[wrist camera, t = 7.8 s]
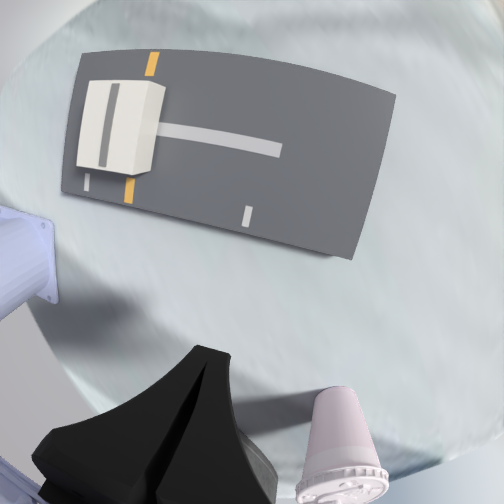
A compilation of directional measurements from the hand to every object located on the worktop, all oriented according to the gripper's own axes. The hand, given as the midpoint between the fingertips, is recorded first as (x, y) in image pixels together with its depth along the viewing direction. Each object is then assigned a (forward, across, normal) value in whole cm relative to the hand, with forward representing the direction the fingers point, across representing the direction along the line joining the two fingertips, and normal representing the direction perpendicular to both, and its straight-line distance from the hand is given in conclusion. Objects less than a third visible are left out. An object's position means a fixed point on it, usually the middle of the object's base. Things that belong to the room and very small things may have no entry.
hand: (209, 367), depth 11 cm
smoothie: (+10, -10, +10) cm, 17 cm away
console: (+9, +4, -8) cm, 13 cm away
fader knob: (+8, +9, -8) cm, 14 cm away
